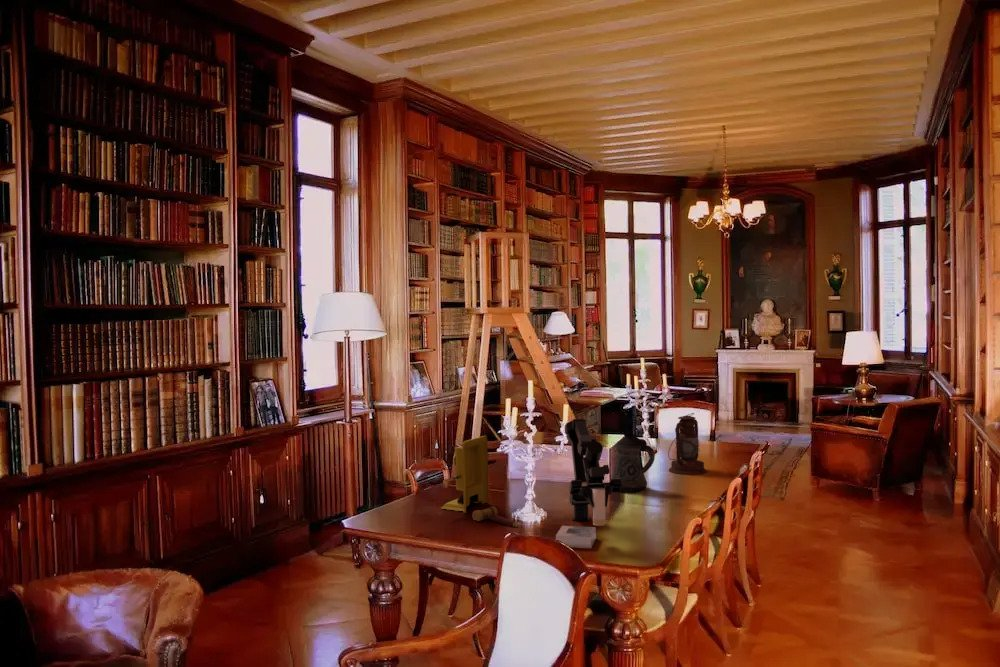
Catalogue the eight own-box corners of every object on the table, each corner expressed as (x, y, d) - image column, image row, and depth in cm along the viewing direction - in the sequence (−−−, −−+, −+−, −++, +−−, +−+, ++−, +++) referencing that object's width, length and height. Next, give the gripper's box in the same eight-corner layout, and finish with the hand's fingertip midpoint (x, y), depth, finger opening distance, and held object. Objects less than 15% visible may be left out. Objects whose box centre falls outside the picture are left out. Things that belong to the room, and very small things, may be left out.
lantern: (684, 465, 411) (683, 409, 410) (714, 471, 396) (713, 412, 396) (661, 471, 399) (660, 412, 398) (691, 476, 384) (690, 416, 384)
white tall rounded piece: (595, 521, 281) (594, 487, 281) (607, 523, 280) (606, 488, 279) (591, 525, 277) (590, 490, 277) (603, 526, 276) (602, 491, 275)
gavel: (526, 517, 305) (508, 522, 298) (526, 529, 305) (507, 534, 298) (490, 505, 320) (472, 509, 313) (490, 516, 320) (471, 520, 313)
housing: (562, 536, 288) (562, 525, 288) (595, 538, 285) (595, 527, 285) (556, 546, 276) (555, 535, 276) (591, 548, 273) (590, 537, 273)
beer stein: (608, 485, 369) (607, 432, 368) (648, 484, 370) (647, 431, 369) (614, 493, 353) (613, 438, 352) (657, 492, 353) (656, 437, 353)
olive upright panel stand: (471, 496, 353) (470, 430, 352) (498, 500, 346) (496, 432, 345) (431, 513, 326) (429, 441, 325) (458, 517, 319) (456, 443, 318)
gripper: (570, 458, 281) (576, 495, 270) (620, 456, 283) (629, 493, 272) (566, 475, 289) (572, 512, 278) (616, 473, 291) (624, 510, 280)
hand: (599, 506), depth 277 cm, fingers closed on white tall rounded piece, 4 cm apart
